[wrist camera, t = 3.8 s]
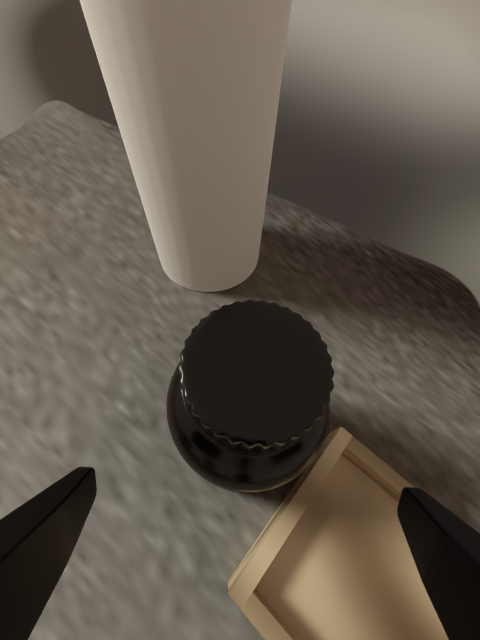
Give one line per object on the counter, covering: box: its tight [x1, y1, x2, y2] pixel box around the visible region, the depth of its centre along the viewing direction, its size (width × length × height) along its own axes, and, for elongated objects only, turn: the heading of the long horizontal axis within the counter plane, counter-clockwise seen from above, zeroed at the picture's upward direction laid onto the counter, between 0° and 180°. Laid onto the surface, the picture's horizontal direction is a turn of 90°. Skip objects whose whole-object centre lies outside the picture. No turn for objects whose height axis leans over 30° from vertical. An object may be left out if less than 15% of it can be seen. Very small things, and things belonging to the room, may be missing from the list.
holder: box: [228, 427, 449, 640], centre depth 14 cm, size 10×10×2 cm
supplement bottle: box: [167, 300, 334, 493], centre depth 14 cm, size 7×7×12 cm
